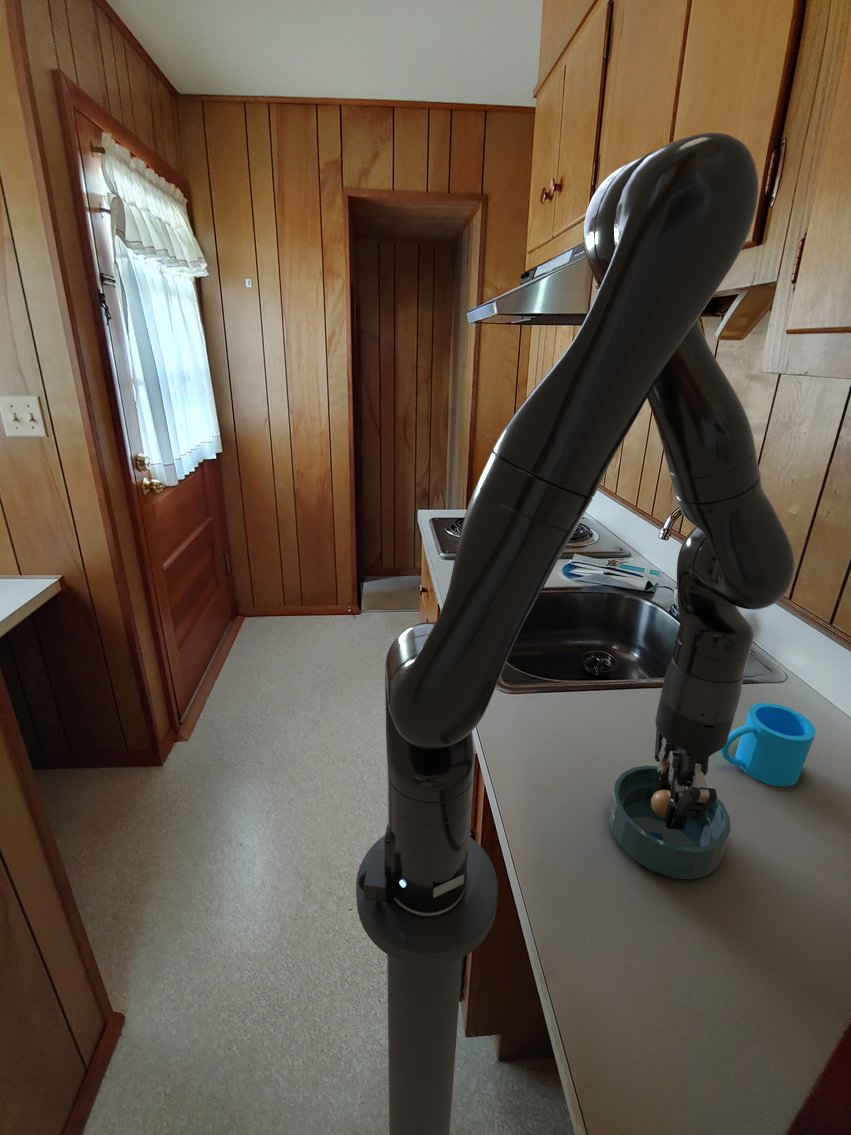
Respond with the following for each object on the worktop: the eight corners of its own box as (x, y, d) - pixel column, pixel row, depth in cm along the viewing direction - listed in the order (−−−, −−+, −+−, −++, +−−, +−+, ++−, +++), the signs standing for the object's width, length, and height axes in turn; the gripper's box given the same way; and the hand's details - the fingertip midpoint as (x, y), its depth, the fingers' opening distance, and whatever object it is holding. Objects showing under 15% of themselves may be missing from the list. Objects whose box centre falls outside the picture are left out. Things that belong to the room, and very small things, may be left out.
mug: (773, 745, 85) (788, 701, 82) (812, 785, 77) (830, 739, 74) (699, 748, 84) (712, 704, 81) (731, 789, 76) (746, 743, 73)
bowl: (620, 876, 64) (627, 845, 62) (599, 789, 76) (604, 761, 74) (739, 888, 63) (750, 857, 61) (698, 798, 75) (706, 770, 73)
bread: (653, 824, 67) (658, 804, 65) (645, 802, 70) (650, 782, 68) (692, 828, 66) (698, 807, 65) (683, 806, 69) (688, 785, 68)
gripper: (646, 661, 68) (624, 769, 75) (684, 739, 55) (653, 861, 62) (709, 666, 67) (681, 774, 74) (762, 745, 54) (722, 867, 61)
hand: (668, 813), depth 68 cm, fingers closed on bread, 3 cm apart
